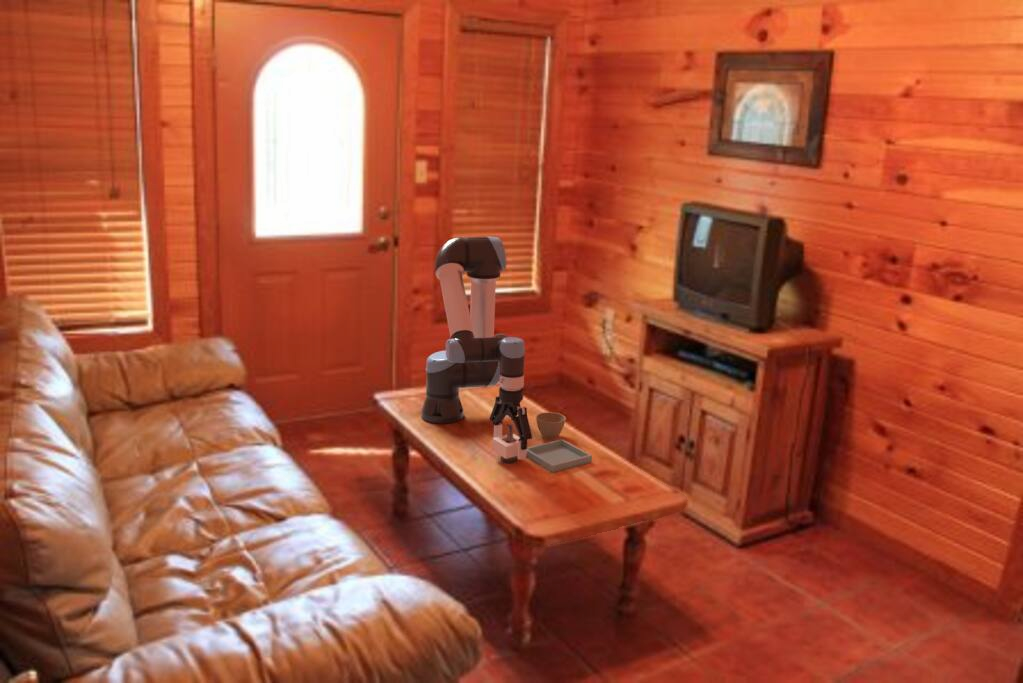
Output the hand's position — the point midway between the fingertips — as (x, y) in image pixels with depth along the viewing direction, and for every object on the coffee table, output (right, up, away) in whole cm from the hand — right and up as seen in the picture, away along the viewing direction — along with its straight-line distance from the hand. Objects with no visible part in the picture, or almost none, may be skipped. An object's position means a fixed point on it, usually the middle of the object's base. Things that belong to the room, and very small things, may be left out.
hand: (509, 451), depth 276 cm
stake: (0, -3, +1) cm, 3 cm away
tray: (+15, -3, +3) cm, 16 cm away
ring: (0, 0, 0) cm, 0 cm away
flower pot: (+14, +2, +21) cm, 25 cm away
